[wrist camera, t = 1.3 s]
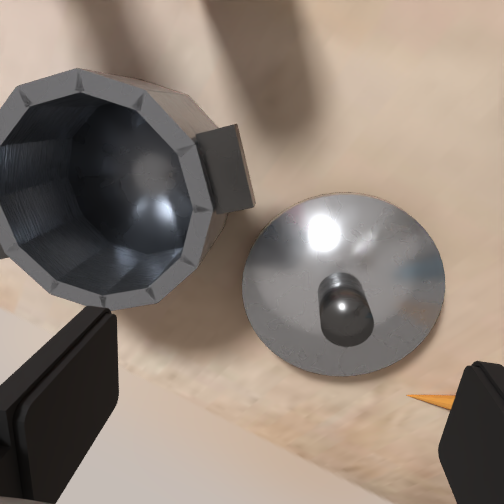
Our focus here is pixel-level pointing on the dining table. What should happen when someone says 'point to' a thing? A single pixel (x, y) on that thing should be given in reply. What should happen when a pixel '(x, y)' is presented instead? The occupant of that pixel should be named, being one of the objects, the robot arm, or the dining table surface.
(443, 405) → the carrot
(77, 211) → the pot
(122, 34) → the dining table surface
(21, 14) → the dining table surface
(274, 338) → the lid
